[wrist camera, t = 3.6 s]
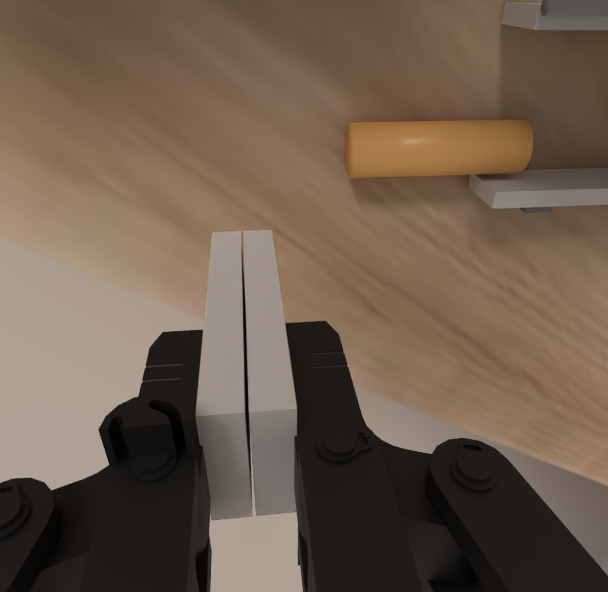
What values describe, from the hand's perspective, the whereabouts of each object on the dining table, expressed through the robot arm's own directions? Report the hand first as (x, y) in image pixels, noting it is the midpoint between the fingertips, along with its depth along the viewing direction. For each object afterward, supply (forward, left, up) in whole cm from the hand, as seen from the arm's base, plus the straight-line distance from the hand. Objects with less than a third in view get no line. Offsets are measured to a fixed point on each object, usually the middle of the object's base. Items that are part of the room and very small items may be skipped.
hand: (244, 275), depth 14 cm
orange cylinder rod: (+11, 0, -16) cm, 20 cm away
